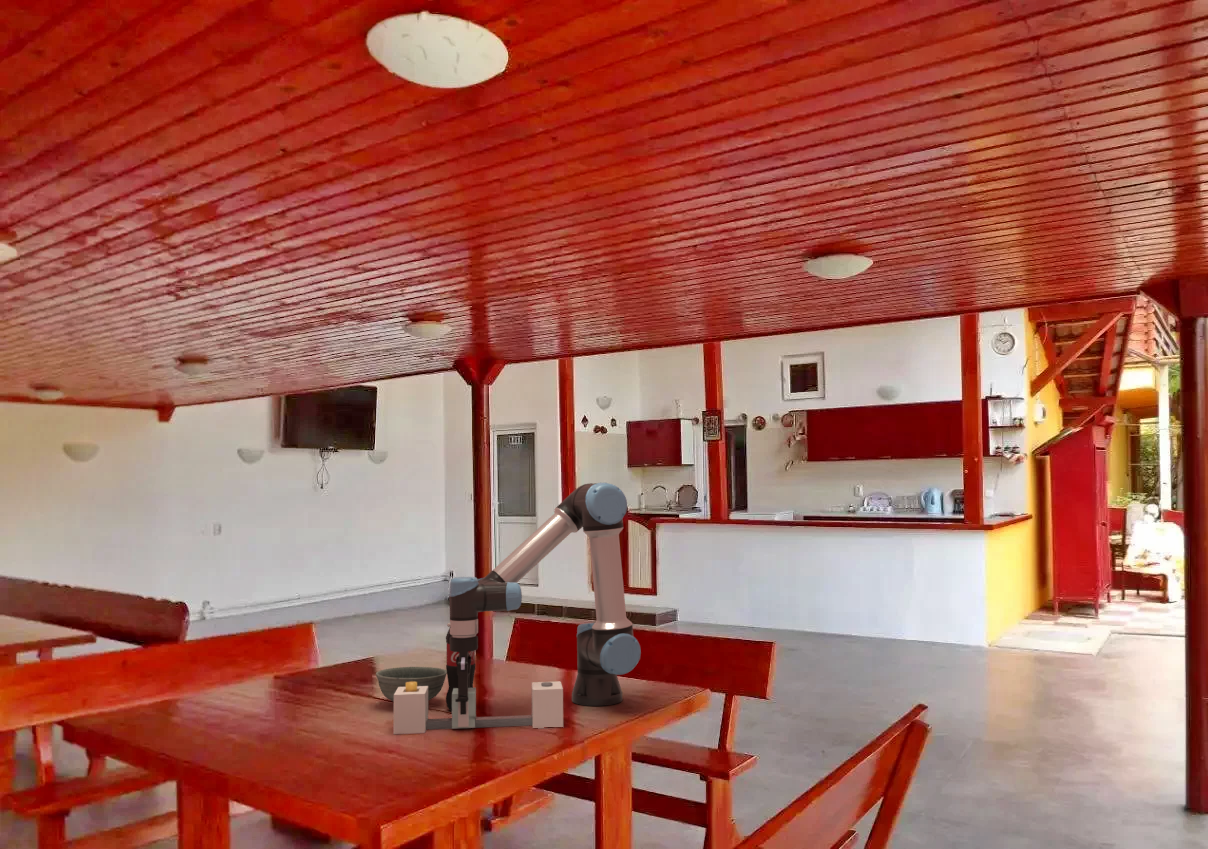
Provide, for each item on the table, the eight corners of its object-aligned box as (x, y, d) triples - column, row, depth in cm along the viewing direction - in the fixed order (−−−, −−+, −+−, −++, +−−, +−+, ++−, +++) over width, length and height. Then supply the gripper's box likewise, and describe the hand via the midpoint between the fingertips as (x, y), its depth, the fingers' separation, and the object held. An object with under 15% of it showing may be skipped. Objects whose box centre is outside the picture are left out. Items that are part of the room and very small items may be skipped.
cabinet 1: (428, 723, 246) (428, 685, 246) (424, 733, 236) (424, 693, 236) (398, 724, 245) (398, 686, 245) (393, 734, 235) (393, 694, 236)
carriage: (475, 721, 245) (475, 687, 246) (474, 727, 238) (474, 693, 239) (453, 722, 245) (453, 688, 245) (451, 728, 238) (451, 693, 239)
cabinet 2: (560, 718, 249) (560, 679, 250) (563, 727, 239) (562, 686, 240) (531, 719, 248) (531, 680, 249) (532, 728, 239) (532, 687, 239)
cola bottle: (469, 713, 256) (469, 606, 259) (441, 712, 258) (441, 605, 260) (479, 706, 265) (479, 602, 267) (452, 705, 266) (452, 602, 269)
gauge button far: (417, 694, 242) (417, 681, 243) (416, 697, 239) (416, 683, 240) (406, 695, 242) (406, 681, 242) (404, 697, 239) (405, 683, 239)
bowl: (360, 710, 262) (360, 675, 263) (402, 695, 281) (402, 662, 282) (421, 716, 254) (421, 679, 255) (460, 700, 274) (460, 666, 274)
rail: (532, 722, 245) (532, 715, 245) (532, 725, 242) (532, 717, 242) (427, 726, 242) (427, 719, 242) (426, 729, 239) (426, 721, 239)
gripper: (451, 630, 253) (451, 714, 251) (447, 641, 233) (447, 733, 231) (478, 629, 254) (479, 713, 252) (476, 640, 234) (477, 731, 232)
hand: (464, 722), depth 242 cm, fingers closed on carriage, 7 cm apart
